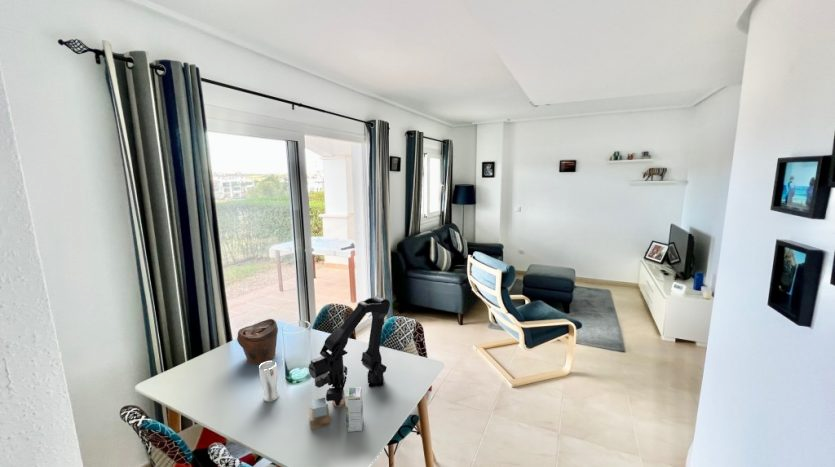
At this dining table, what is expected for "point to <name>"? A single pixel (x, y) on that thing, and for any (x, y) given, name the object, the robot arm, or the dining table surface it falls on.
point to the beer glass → (269, 380)
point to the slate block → (319, 407)
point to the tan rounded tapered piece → (340, 402)
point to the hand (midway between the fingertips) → (338, 400)
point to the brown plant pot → (259, 341)
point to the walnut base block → (319, 419)
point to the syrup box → (354, 409)
